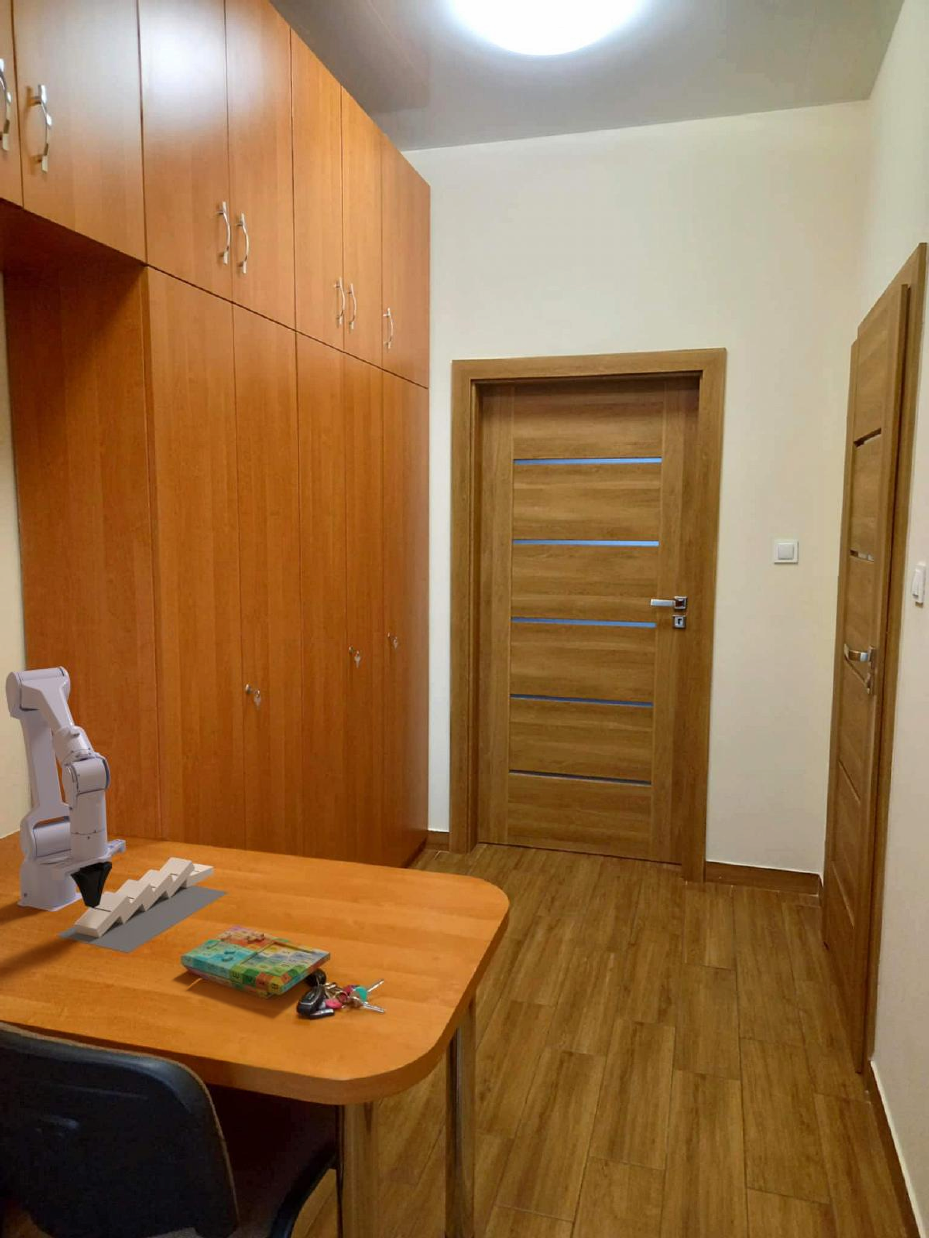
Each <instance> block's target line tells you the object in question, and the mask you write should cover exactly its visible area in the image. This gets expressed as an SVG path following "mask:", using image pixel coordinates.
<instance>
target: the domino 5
mask: <svg viewBox="0 0 929 1238" xmlns="http://www.w3.org/2000/svg"><path fill="white" fill-rule="evenodd" d="M193 865H194V867H195V869H194V870H193V871H192V873H191V874H190V875H189V876H188V877H187V878H186V880H185V881H184V882H183V883H182V884H181V886H180V887H184V888H188V887H190V886H192V885H193V886H196V884H198V883H200V882H201V881H204V880H205V879H207V878H209V877H211V876H213V875H214V870H215V869H214V866H213V865H212V866H211V865H207V864H206V865H205V864H200V863H194V862H193Z"/></svg>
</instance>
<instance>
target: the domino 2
mask: <svg viewBox="0 0 929 1238" xmlns="http://www.w3.org/2000/svg"><path fill="white" fill-rule="evenodd" d="M152 892H153V890H152V888H151V885H150V883H146V882H140V881H139V880H134V879H129V878H128V879H127V880H126V881H125V882H124V883H123V884H122V886H120V888H119V889H118V890H117V891H116V892H115V893H118V894H123V895H128V898H129V900H130V903H131V905H130V906H129V907H128V908H127V909H126V910H125V911H124V912H123V913H122V914H121V915H120V916H119V917H118V919H117V920H116V921H115V922H118V923H122V924H124V923H125V922H126V921H127V920H128V919H129V918H130V917H131V916H132V914H133V913H134V912H135V911H136V910H137V909H138V908H139V907H140V906H141V904H142V903H143V902H144V901H145V900H146V899H147V898H148V897H149V896H150V894H151V893H152Z"/></svg>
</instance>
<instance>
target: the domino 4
mask: <svg viewBox="0 0 929 1238" xmlns="http://www.w3.org/2000/svg"><path fill="white" fill-rule="evenodd" d="M193 863H194V862H193V861H192V860H189V859H184V858H177V857H172V856H170V858H169V859H168V860H167V862H166V863H165V864H163V866H162V867H161V868H160V870H159V871H161V872H167V873H171V875H172V878H173V881H174V882H173V883H172V884H171V885H170V886H169V887H168V888H167V889H166V890H165V891H164V893H163V894H162V895H161V896H160V897H164V898H169V899H170V897H171V896H172V895H173V894H174V893H175V892H176V890H177V889H178V888H179V887H180V886H181V884H182V883H183V882H184V881H185V880H186V878H187V877H188V876H189V875H190V874H191V873H192V871H193V870H194V869H195V867H194V865H193Z"/></svg>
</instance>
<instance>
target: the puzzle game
mask: <svg viewBox="0 0 929 1238" xmlns="http://www.w3.org/2000/svg"><path fill="white" fill-rule="evenodd" d="M180 958H181V959H180V960H181V965H182V966H183V967H184V968H185V970H186V971H188V972H189V973H190V974H193V975H197V976H199V978H201V979H203V980H205V981H206V980H207V981H210V982H214V983H215V984H219V985H222V986H225V987H228V988H231V989H234V990H238V991H240V992H243V993H246V994H247V993H248V994H251V995H253V996H256V997H260V998H263V999H266V1000H268V999H269V998H271V997H272V996H273V995H276V996H280V995H282V994H284V993H286V991H288V990H289V989H291V988H292V987H294V986H295V985H296V984H298V983H299V982H301V981H302V980H303V979H305V978H306V977H308V976H309V975H310V974H312V973H314V972H315V971H316V970H317V969H319V968H320V967H321V966H323V965H324V964H326V963H327V962H329V961H330V960H331V952H329V951H326V950H322V949H319V948H315V947H312V946H309V945H306V944H305V945H304V944H303V943H298V942H295V941H291V940H289V939H284V938H281V937H278V936H275V935H271V934H268V933H264V932H261V931H258V930H257V931H256V930H254V929H251V928H246V927H243V926H240V925H234V926H232V927H230V928H228V929H226V930H224V931H223V932H221V933H219V934H218V935H216V936H214V937H213V938H211V939H209V940H207V941H205V942H204V943H201V944H200V945H199V946H196V947H195V948H193V949H191V950H189V951H188V952H186V953H184V954H183V955H181V956H180Z"/></svg>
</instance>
